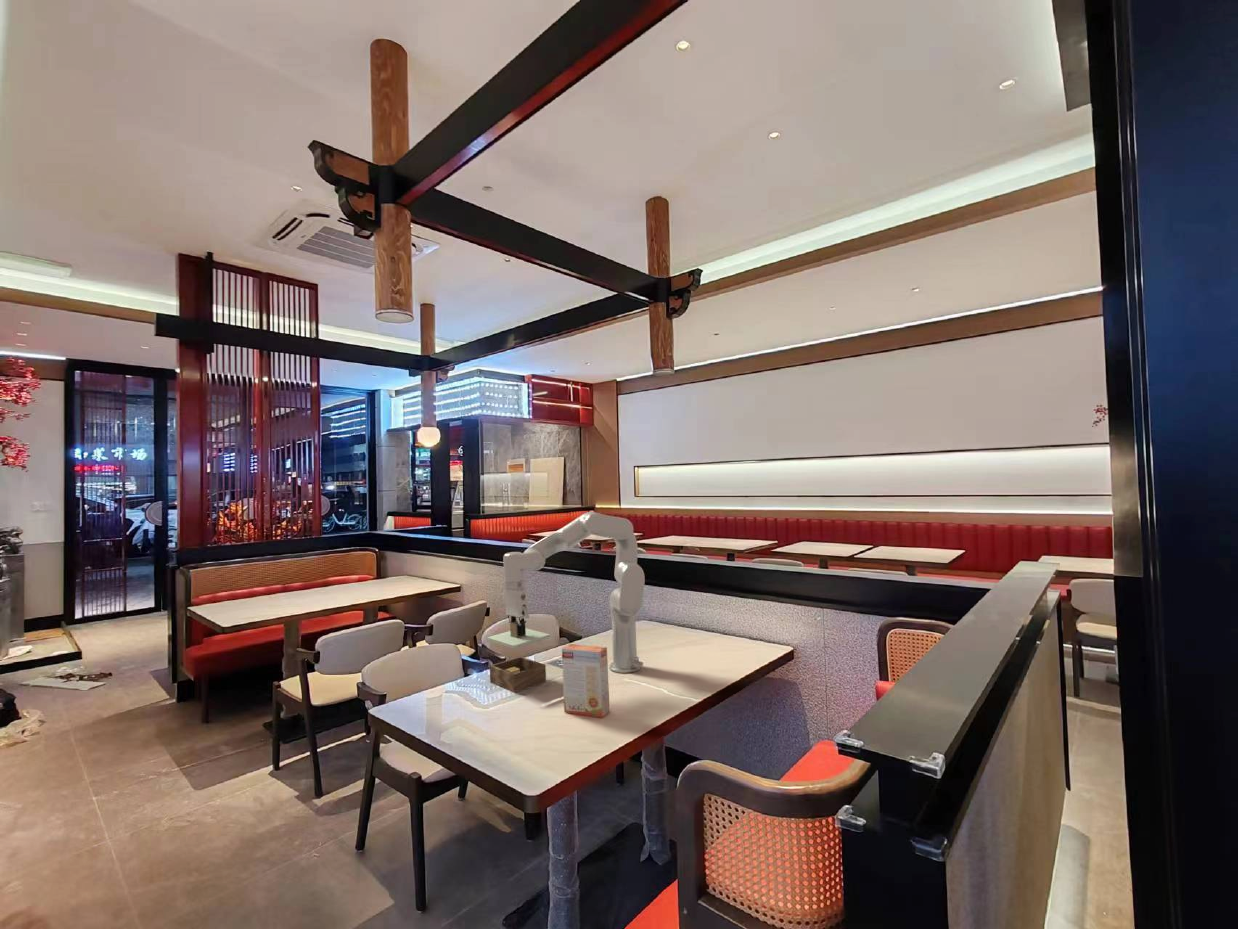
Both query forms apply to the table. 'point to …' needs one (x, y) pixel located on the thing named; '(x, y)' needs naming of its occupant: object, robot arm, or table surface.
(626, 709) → the table surface
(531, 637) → the lid
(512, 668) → the ochre block
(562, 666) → the mat
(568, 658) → the cracker box
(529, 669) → the crate
